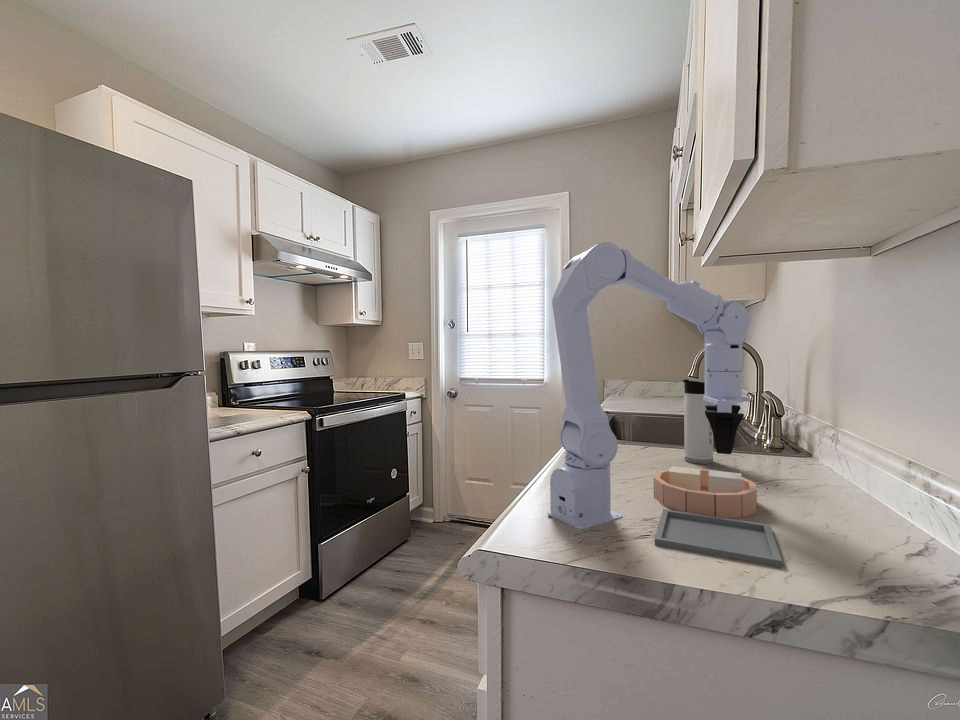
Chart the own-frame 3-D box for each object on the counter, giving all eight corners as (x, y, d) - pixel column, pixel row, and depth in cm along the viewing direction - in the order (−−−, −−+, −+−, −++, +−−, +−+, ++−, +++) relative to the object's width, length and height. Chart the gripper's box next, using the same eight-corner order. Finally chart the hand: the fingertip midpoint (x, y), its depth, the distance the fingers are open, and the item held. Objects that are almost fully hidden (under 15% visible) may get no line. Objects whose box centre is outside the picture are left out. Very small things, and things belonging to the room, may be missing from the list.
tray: (781, 570, 53) (781, 561, 53) (654, 547, 60) (654, 538, 60) (769, 532, 64) (769, 524, 64) (663, 516, 71) (663, 508, 71)
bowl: (720, 527, 67) (720, 501, 66) (636, 497, 80) (635, 476, 80) (775, 507, 75) (775, 484, 74) (689, 483, 88) (689, 464, 88)
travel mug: (679, 457, 110) (679, 378, 109) (707, 458, 109) (707, 378, 108) (688, 464, 103) (687, 380, 103) (717, 464, 102) (717, 380, 102)
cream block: (669, 497, 78) (668, 471, 78) (670, 490, 82) (670, 466, 82) (700, 501, 76) (700, 474, 76) (700, 494, 79) (700, 469, 79)
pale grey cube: (708, 502, 75) (708, 475, 75) (709, 495, 79) (709, 470, 79) (742, 506, 73) (742, 479, 73) (741, 499, 76) (741, 473, 76)
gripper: (753, 373, 67) (754, 460, 67) (746, 369, 80) (746, 442, 80) (702, 372, 71) (703, 456, 71) (703, 369, 83) (704, 439, 84)
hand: (723, 448), depth 76 cm, fingers open, 7 cm apart
